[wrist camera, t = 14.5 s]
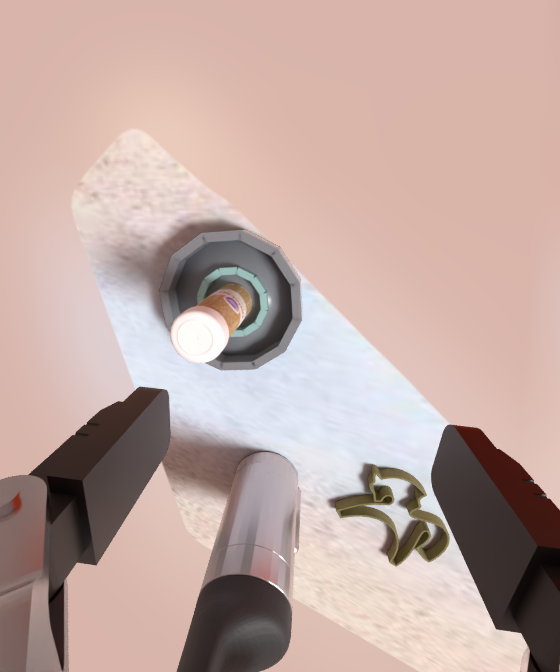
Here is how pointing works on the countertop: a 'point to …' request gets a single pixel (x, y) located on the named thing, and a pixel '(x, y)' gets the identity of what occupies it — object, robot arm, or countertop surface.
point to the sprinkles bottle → (210, 323)
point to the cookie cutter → (385, 497)
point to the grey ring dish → (248, 271)
